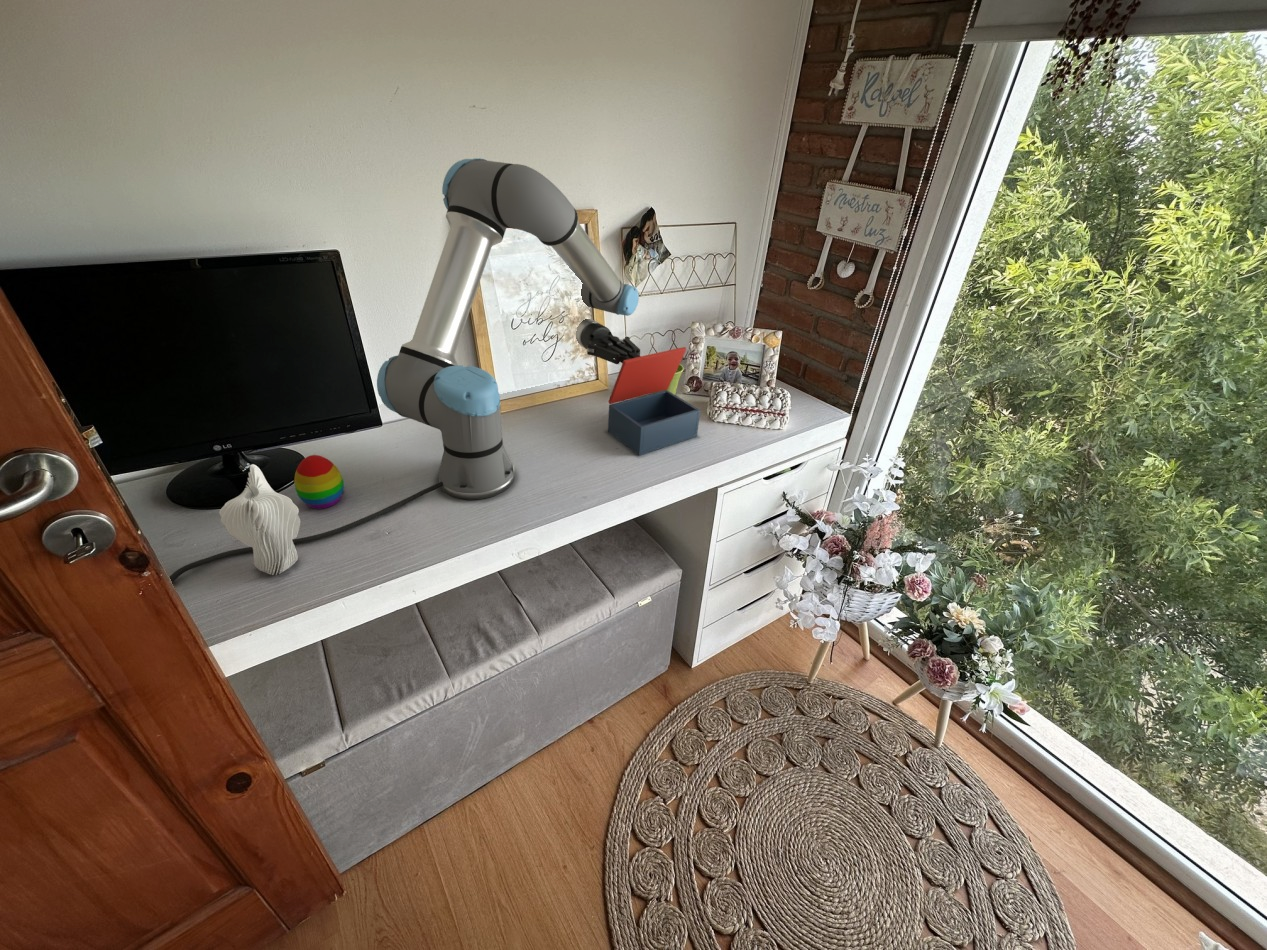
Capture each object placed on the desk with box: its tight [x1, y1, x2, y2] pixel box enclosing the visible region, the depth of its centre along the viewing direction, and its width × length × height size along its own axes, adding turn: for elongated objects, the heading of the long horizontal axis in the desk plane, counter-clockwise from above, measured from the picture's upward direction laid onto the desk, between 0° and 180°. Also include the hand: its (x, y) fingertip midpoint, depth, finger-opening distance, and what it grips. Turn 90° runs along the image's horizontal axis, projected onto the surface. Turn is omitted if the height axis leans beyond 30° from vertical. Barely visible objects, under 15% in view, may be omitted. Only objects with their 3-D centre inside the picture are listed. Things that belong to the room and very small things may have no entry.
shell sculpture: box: [218, 463, 301, 576], centre depth 92 cm, size 8×8×18 cm
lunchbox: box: [607, 390, 701, 456], centre depth 140 cm, size 13×18×7 cm
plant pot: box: [655, 363, 685, 395], centre depth 159 cm, size 9×9×9 cm
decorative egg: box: [293, 454, 345, 510], centre depth 110 cm, size 8×8×10 cm
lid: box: [608, 346, 687, 405], centre depth 137 cm, size 14×18×1 cm
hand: (646, 367), depth 136 cm, fingers closed
